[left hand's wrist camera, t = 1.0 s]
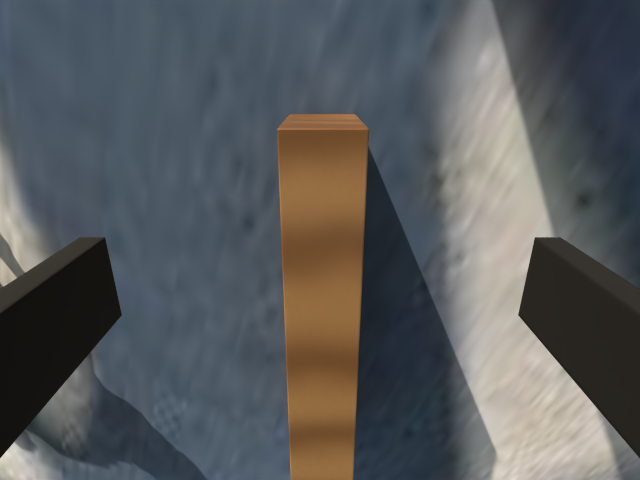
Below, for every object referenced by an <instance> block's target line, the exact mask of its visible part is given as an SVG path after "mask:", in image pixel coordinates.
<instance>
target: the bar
mask: <svg viewBox="0 0 640 480" xmlns="http://www.w3.org/2000/svg"><path fill="white" fill-rule="evenodd" d="M277 141H278V166H279V191H280V217H281V242H282V267H283V292H284V317H285V342H286V368H287V393H288V418H289V443H290V468H291V480H353V473H354V451H355V429H356V407H357V385H358V363H359V341H360V319H361V296H362V274H363V252H364V230H365V208H366V186H367V164H368V142H369V129H368V128H367V127H366V125H365V124H364V123H363V122H362V121H361V120H360V119H359V118H358V117H357V116H356V115H355V114H290V115H289V116H288V117H287V118H286V119H285V121H284V122H283V123H282V124H281V125H280V126H279V128H278V129H277Z"/></svg>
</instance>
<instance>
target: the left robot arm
mask: <svg viewBox="0 0 640 480" xmlns="http://www.w3.org/2000/svg"><path fill="white" fill-rule="evenodd" d="M121 315H122V314H121V310H120V305H119V300H118V296H117V291H116V286H115V282H114V277H113V273H112V268H111V263H110V259H109V254H108V249H107V245H106V240H105V238H78V239H77V240H75V241H74V242H72V243H71V244H69V245H68V246H66V247H64V248H63V249H61V250H60V251H58V252H57V253H55V254H54V255H52V256H51V257H49V258H48V259H46V260H44V261H43V262H41V263H40V264H38V265H37V266H35V267H34V268H32V269H31V270H29V271H28V272H26V273H24V274H23V275H21V276H20V277H18V278H17V279H15V280H14V281H12V282H11V283H9V284H8V285H6V286H4V287H3V288H1V289H0V458H1V457H2V455H3V454H4V453H5V452H6V451H7V450H8V448H9V447H10V446H11V445H12V444H13V442H14V441H15V440H16V439H17V438H18V437H19V435H20V434H21V433H22V432H23V431H24V430H25V428H26V427H27V426H28V425H29V424H30V422H31V421H32V420H33V419H34V418H35V417H36V415H37V414H38V413H39V412H40V411H41V410H42V408H43V407H44V406H45V405H46V404H47V402H48V401H49V400H50V399H51V398H52V397H53V395H54V394H55V393H56V392H57V391H58V389H59V388H60V387H61V386H62V385H63V384H64V382H65V381H66V380H67V379H68V378H69V377H70V375H71V374H72V373H73V372H74V371H75V369H76V368H77V367H78V366H79V365H80V364H81V362H82V361H83V360H84V359H85V358H86V357H87V355H88V354H89V353H90V352H91V351H92V349H93V348H94V347H95V346H96V345H97V344H98V342H99V341H100V340H101V339H102V338H103V336H104V335H105V334H106V333H107V332H108V331H109V329H110V328H111V327H112V326H113V325H114V324H115V322H116V321H117V320H118V319H119V318H120V316H121ZM518 315H519V316H520V318H521V319H522V320H523V321H524V322H525V324H526V325H527V326H528V327H529V328H530V329H531V331H532V332H533V333H534V334H535V335H536V336H537V338H538V339H539V340H540V341H541V342H542V344H543V345H544V346H545V347H546V348H547V349H548V351H549V352H550V353H551V354H552V355H553V357H554V358H555V359H556V360H557V361H558V362H559V364H560V365H561V366H562V367H563V368H564V369H565V371H566V372H567V373H568V374H569V375H570V377H571V378H572V379H573V380H574V381H575V382H576V384H577V385H578V386H579V387H580V388H581V389H582V391H583V392H584V393H585V394H586V395H587V397H588V398H589V399H590V400H591V401H592V402H593V404H594V405H595V406H596V407H597V408H598V410H599V411H600V412H601V413H602V414H603V415H604V417H605V418H606V419H607V420H608V421H609V422H610V424H611V425H612V426H613V427H614V428H615V430H616V431H617V432H618V433H619V434H620V435H621V437H622V438H623V439H624V440H625V441H626V442H627V444H628V445H629V446H630V447H631V448H632V450H633V451H634V452H635V453H636V454H637V455H638V457H639V458H640V289H639V288H637V287H636V286H634V285H632V284H631V283H629V282H628V281H626V280H625V279H623V278H622V277H620V276H619V275H617V274H616V273H614V272H612V271H611V270H609V269H608V268H606V267H605V266H603V265H602V264H600V263H599V262H597V261H596V260H594V259H592V258H591V257H589V256H588V255H586V254H585V253H583V252H582V251H580V250H579V249H577V248H576V247H574V246H572V245H571V244H569V243H568V242H566V241H565V240H563V239H562V238H535V240H534V245H533V249H532V254H531V259H530V263H529V268H528V273H527V277H526V282H525V286H524V291H523V296H522V300H521V305H520V310H519V314H518Z"/></svg>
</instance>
